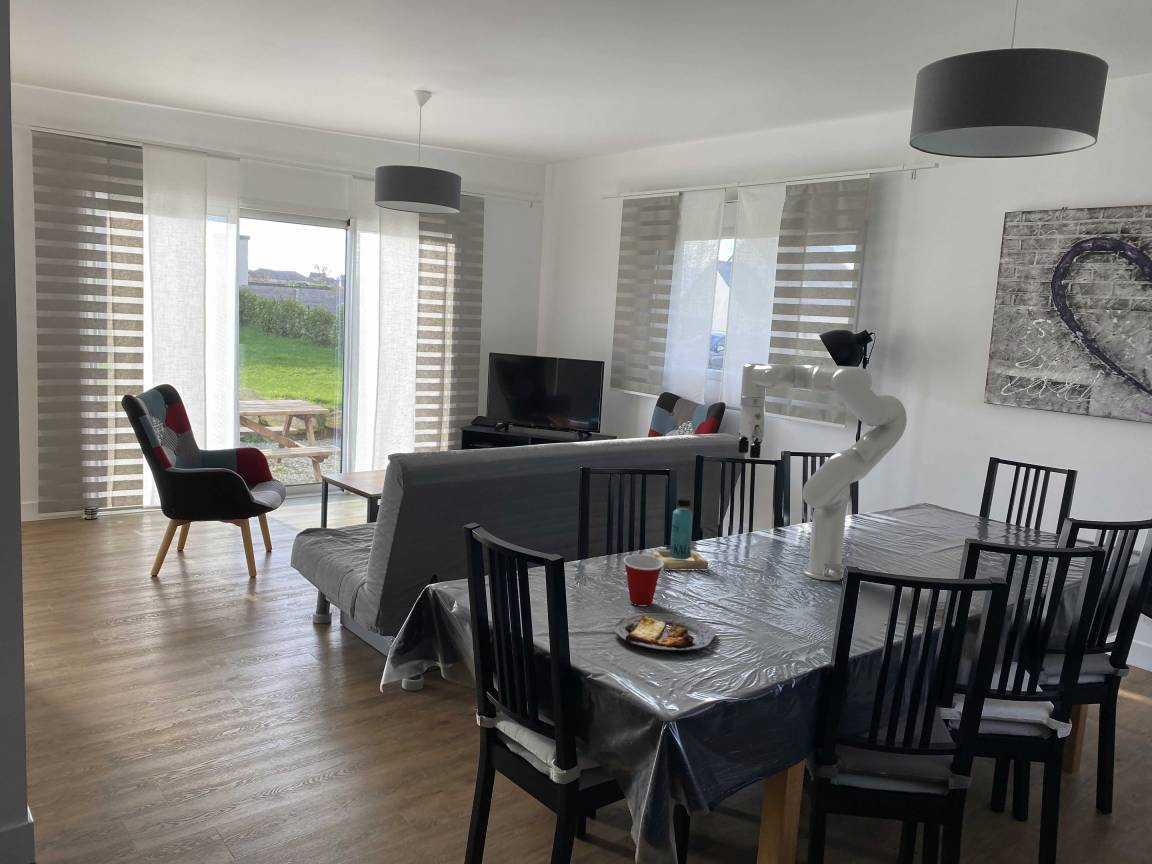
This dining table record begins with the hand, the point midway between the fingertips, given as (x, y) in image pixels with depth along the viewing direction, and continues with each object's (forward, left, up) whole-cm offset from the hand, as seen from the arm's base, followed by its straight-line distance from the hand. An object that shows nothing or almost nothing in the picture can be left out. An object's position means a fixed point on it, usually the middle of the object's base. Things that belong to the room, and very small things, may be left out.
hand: (748, 455), depth 286 cm
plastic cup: (-44, +46, -34) cm, 72 cm away
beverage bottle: (-8, +24, -33) cm, 41 cm away
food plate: (-69, +47, -34) cm, 90 cm away
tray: (-8, +24, -33) cm, 42 cm away
